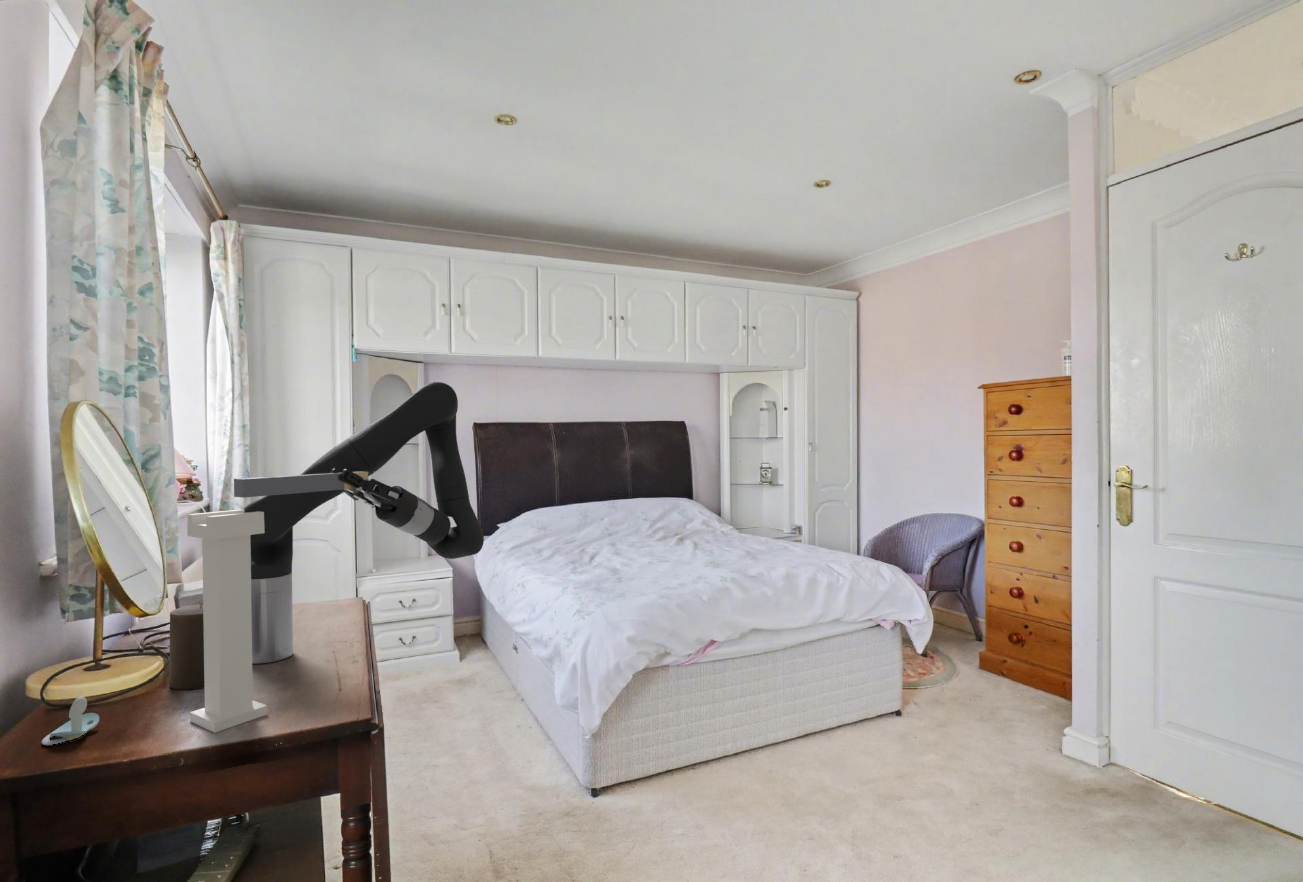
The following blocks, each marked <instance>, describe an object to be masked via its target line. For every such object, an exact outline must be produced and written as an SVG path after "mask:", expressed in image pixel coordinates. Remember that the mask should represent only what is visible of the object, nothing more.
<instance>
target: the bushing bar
mask: <svg viewBox="0 0 1303 882" xmlns="http://www.w3.org/2000/svg"><path fill="white" fill-rule="evenodd" d="M354 473H355V474H357V475H359V476H361V477H366V478H367V479H369V477H368V472H354ZM341 474H342V473H325V474H308V475H301V474H294V475H292V474H291V475H277V476H262V477H259V476H258V477H242V478H234V479H233V496H234V498H245V499H246V498H254V497H255V498H256V497H265V496H269V495H282V494H294V493H306V492H318V491H330V490H343V489H355V487H353V486H351V485H349V484H347V483H346V482H344V481H342V480H340V476H341ZM357 487H358V486H357Z"/></svg>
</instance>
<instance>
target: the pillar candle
mask: <svg viewBox="0 0 1303 882" xmlns="http://www.w3.org/2000/svg"><path fill="white" fill-rule="evenodd" d="M198 603H199V604H193V605H186V606H182V607H178V608H175V609H173V610H171V611H169V671H168V673H169V678H168V679H169V680H168V684H169V687H170V688H171V689H173V690H179V691H180V690H182V691H183V690H187V691H188V690H196V689H197V690H198V689H205V688H204V622H203V604H201V602H200V601H199V602H198Z"/></svg>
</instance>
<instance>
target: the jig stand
mask: <svg viewBox="0 0 1303 882" xmlns="http://www.w3.org/2000/svg"><path fill="white" fill-rule="evenodd" d="M186 525H187V527H186V528H187V531H186V532H187V537H193V538H199V539H201V540H202V541H201V543H202V544H201V545H202V553H201V554H202V603H203V622H204V688H203V689H204V707H202V708H199V709H196V710H192V711H190V712H189V713H190V714H189V715H190V716H189V718H190V719H189V722H191V723H193V724H195V725H196V726H199V727H201V728H203V729H206V730H208V731H210V732H213V733H218V732H221V731H224V730H227V729H229V728H233V727H235V726H238V725H241V724H244V723H246V722H249V721H253V720H256V719H258V718H261V717H264V716H267V715H268V705H266V704H264V703H261V702H259V701H256V700H254V698H253V697H254V696H253V694H254V693H253V692H254V691H253V690H254V689H253V687H254V686H253V685H254V683H253V681H254V680H253V664H252V613H251V545H250V535H254V534H262V533H265V531H264V512H260V511H258V512H248V513H245V512H244V510H243V509H233V510H232V509H230V510H222V511H221V510H220V511H208V512H201V513H200V512H198V513H189V514H188V513H187V523H186Z"/></svg>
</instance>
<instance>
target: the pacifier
mask: <svg viewBox="0 0 1303 882" xmlns="http://www.w3.org/2000/svg"><path fill="white" fill-rule="evenodd" d="M87 706H88V700H87V699H86V697H85V696H82V695H79V696H77V697H76V698H75V700H74V701H73V702H72V705H71V706H70V709H69V713H68V719H70V720H68V721H67V722H65V723H64V724H62V725H60V726H59V727H58V728H57V729H55V730H53V731H52V732H50V733H49V734H48V735H46V736H45V737H44V738H43V739H42V740H41V744H42V745H44V746H54V745H53V744H56V745H59V744H58V743H60V744H62V742H63V743H66V742H65V741H67V740H72V739H74V738H78V737H80V736H82V735H84V734H85V733H86V734H87V733H88V732H89V731H90V730H92V729H94V728H96V727H97V725H99V722H100V716H99V714H98V713H95V712H86V713H85V711H86V709H87ZM86 734H85V735H86ZM85 735H84V736H85ZM53 736H55V737H57V738H58V739H53V738H54V737H53ZM52 737H53V738H52ZM59 737H61V738H59ZM50 738H52V739H51V740H50Z"/></svg>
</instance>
